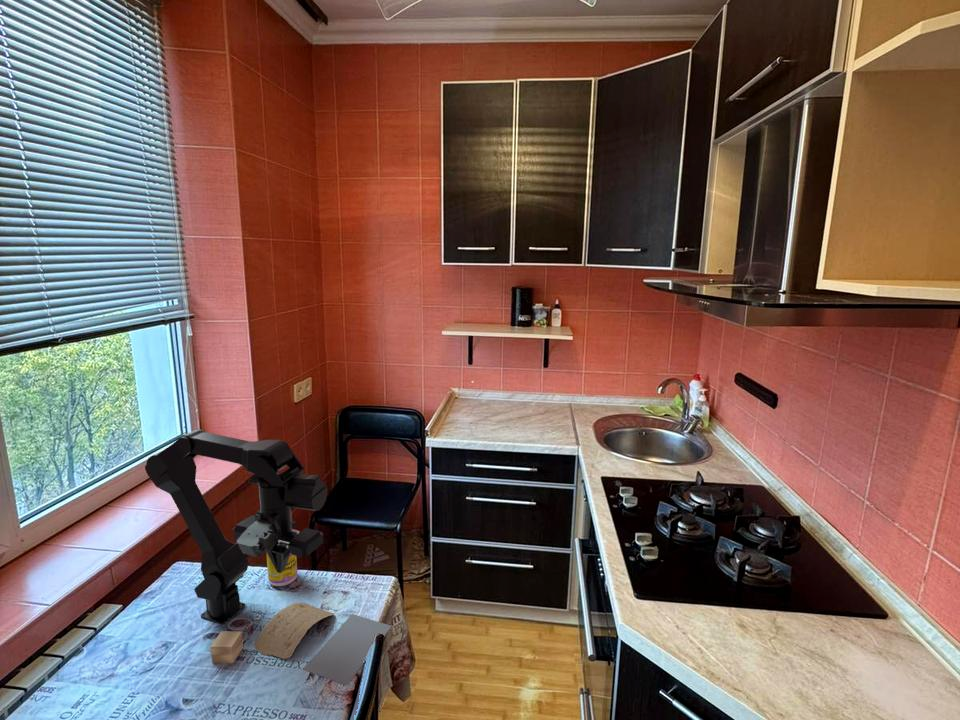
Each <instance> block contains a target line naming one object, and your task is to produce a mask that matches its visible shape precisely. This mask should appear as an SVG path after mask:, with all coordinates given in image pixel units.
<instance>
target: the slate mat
mask: <svg viewBox="0 0 960 720" xmlns="http://www.w3.org/2000/svg"><path fill="white" fill-rule="evenodd" d="M391 628H393V626H392V625H390V624H387V623H383V622H380V621H377V620H374V619H370V618H367V617H364V616H360V615H357V614H354V613H352V614H350V616H349V617H348V618H347V619H346V620H345V621H344V622H343V624H341V625H340V627H339V628H338V629H337V630H336V631H335V632H334V633H333V635H332V636H331V637H330V638H329V639H328V640H327V641H326V642H325V643H324V644H323V646H322V647H321V648H320V649H319V650H318V651H317V652H316V654H314V656H313V657H312V658H311V659H310V660H309V661H308V662H307V663H306V665H304V667H303V668H302V670H303V671H306V672H307V673H308V672H309V673H311V674H314V675H316V676H319V677H321V678H324V679H327V680H329V681H330V680H331V681H333V682H336V683H338V684H341V685H344V686H348V685H349V683H351V681H352V680H353V679H354V678H355V676H356V675H357V673H358V672H359V671H360V670H361V668H362V667H363V666H362V665H364V664H363V661H364V658H365V656H366V654H367V653H368V651H369V649H370V647H371V645H372V642H373V639H374V635H376V634H378V633H380V634H383V635H384V638H385V636H387V634H388V633H389V632H390V630H391Z"/></svg>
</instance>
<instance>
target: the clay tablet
mask: <svg viewBox="0 0 960 720" xmlns="http://www.w3.org/2000/svg"><path fill="white" fill-rule="evenodd" d="M333 615H335V613H333V612H330V611H327V610H323V609H322V608H319V607H317V606H314V605H310V604H308V603H305V602H294V603H292V604H289V605H287V606H285V607H284V608H282V609H281V610H279V611H278V612H277V613H276V614H275V615H274V616H273V617H272V618H271V619H270V620H269V621H268V622H267V624H266V625H265V626H264V627H263V629H262V631H261V632H260V634H259V636H257V639H256V641H255V642H254V643H253V644H254V649H255V650H256V651H257V652H259V653H261V654H262V655H264V656H266V655H270V656H275V657H277V658H280V659H290V658H291V656H292V655H293V653H294V651H295V650H296V647H297V646H298V645H299V644H300V642H301V640H302V638H304V636H305V635H306V634H307V631H308V630H309V629H311V628H312V626H313V625H315V624H316V623H318V622H319V621H321V620H323V619H325V618H327V617H330V616H333Z"/></svg>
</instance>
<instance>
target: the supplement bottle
mask: <svg viewBox="0 0 960 720" xmlns="http://www.w3.org/2000/svg"><path fill="white" fill-rule="evenodd" d="M297 559H298V558H297V556H296V555H292V554H290V557H289V559H288V562H287V564H286V566H285V569H284V571H283V572H281V573H278V572H277V571H276V569H275V567H274V565H273V563H272V561H271V559H270V557H269V556H268V554H267V553H266V566H267V567H266V568H267V577H268V583H269V584H270V585H271V586H273V587H284V586H288V585H289V584H292V583H293V582H294V581H295V580H296V578H297V577H298V563H297Z"/></svg>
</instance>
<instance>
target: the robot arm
mask: <svg viewBox="0 0 960 720" xmlns="http://www.w3.org/2000/svg"><path fill="white" fill-rule="evenodd" d="M197 456H201V457H205V458H209V459H214V460H215V459H216V460H217V461H218V460H219V461H223V462H230V463H233V464H238V465H239V466H242V467H243V468H244V469H245V470H246V471H247V472H248V473H250V474H253V476H251V478H249V479H248V484H254V485H255V484H256V485H258V495H259V506H260V507H259V509H258V510H257V511H255V514H251V515H250V516H248V517H246V518H245V519H243V520H242V521H240V522H238V523H237V524H235V526H234V527H233V529H232V536H233V540H236V543H234V542H232V541H230V540H228V539H226V537H225V535H224V533H223V532H222V530H221V528H220V526H219V524H218V522H217V521H216V518H215V516H214V514H213V512H212V511H211V508H210V507H209V505H208V503H207V501H206V500H205V497H204V496H203V494H202V491H201V490H200V488H199V487H198V486H199V485H197V482H196V479H197V478H196V477H197V465H196V461H195V458H196V457H197ZM286 467H288V469H286V470H285V471H283V472H281V473H278V472H280V471H281V470H283V469H285V468H286ZM144 469H145V472H146V475H147V476H148V477H149V479H150V480H151V482H152V484H154V486H155V487H156V488H158V489H160V490H161V491H164V492H166V494H169V495H170V496H171V498H172V500H173V502H174V504H175V506H176V508H177V510H178V511H179V513H180V515H181V517H182V519H183V521H184V522H185V525H186V526H187V528H188V530H189V532H190V534H191V535H192V537H193V539H194V542H195V543H196V544H197V547H198V549H199V550H200V553H201V563H200V564H201V565H200V570H201V571H200V572H201V574H202V576H203V580H202V581H201V582H200V583H198V584H197V586H196V587H195V588H194V589H193V590H194V592H195V595H196V597H197V598H198V599H203V600H205V608H206V610H205V611H204V612H202V613H201V614H200V617H201V618H202V619H205V620H208V621H210V622H212V623H216V624H218V625H224V624H225V623H227V622H228V621H229V620H231V618H233V617H234V616H235V615H236V614H238V613H239V612H240V611H242V610H243V609H244V608H245V607H246V603H244V602H242V601H241V598H240V593H239V587H238V585H237V583H238V581H239V580H240V579H242V578H243V577H244V574H245V573H246V572H247V571H248V568H249V564H250V563H249V560H248V558H249V556H251V557H254V558H259V557H261V556H263V554H264V553H265V552H266V555H267V554H268V556H269V557H270V559H271V561H272V563H273V565H274V567H275V569H276V571H277V572H278V573H281V572H283V571H284V569H285V566H286V564H287V562H288V559H289V557H290V554H292V555H296V557H300V558H306V557H308V556H309V555H310V554H312V553H313V552H315V551H316V550H317V549H318V548H319V547H320V546H321V545H323V544H324V533H323V532H321V531H320V530H317V529H312V528H309V527H308V528H307V527H305V528H304V529H303V530H301V531H300V530H297V529H294V528H296V527H297V521H296V520H295V521H294V520H293V519H292V517H293V516H292V511H293V510H294V509H300V510H301V509H302V510H307V511H308V510H309V511H315V512H316V511H317V512H318V511H320V510H321V509H322V508H323V507H324V506H325V503H326V502H327V497H328V486H327V485H326V483H325V481H323V480H321V476H320V475H319V474H318V475H317V474H304V473H303V472H304V471H305V467H304V465H302V463H301V461H300V460H299V459H298V457H297V456H296V454H295V453H294V452H293V451H292V449H291V446H289V443H288V442H286V441H284V440H281V439H264V440H263V439H262V440H256V441H250V440H245V439H244V440H243V439H240V438H234V437H230V436H226V435H222V434H221V435H220V434H217V433H216V434H215V433H211V432H207V431H205V429H204V430H203V429H195V430H193V431H191V432H188V433H186V434H185V433H184V434H182V435H180V437H178V438H177V440H175V441H174V442H173V443H171V445H169V446H167V447H166V448H164V449H163V450H162V451H160V452H157V453H155V454H153V455H151V456H149V457H148V458H147V460H146V463H145V466H144ZM302 473H303V474H302Z"/></svg>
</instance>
